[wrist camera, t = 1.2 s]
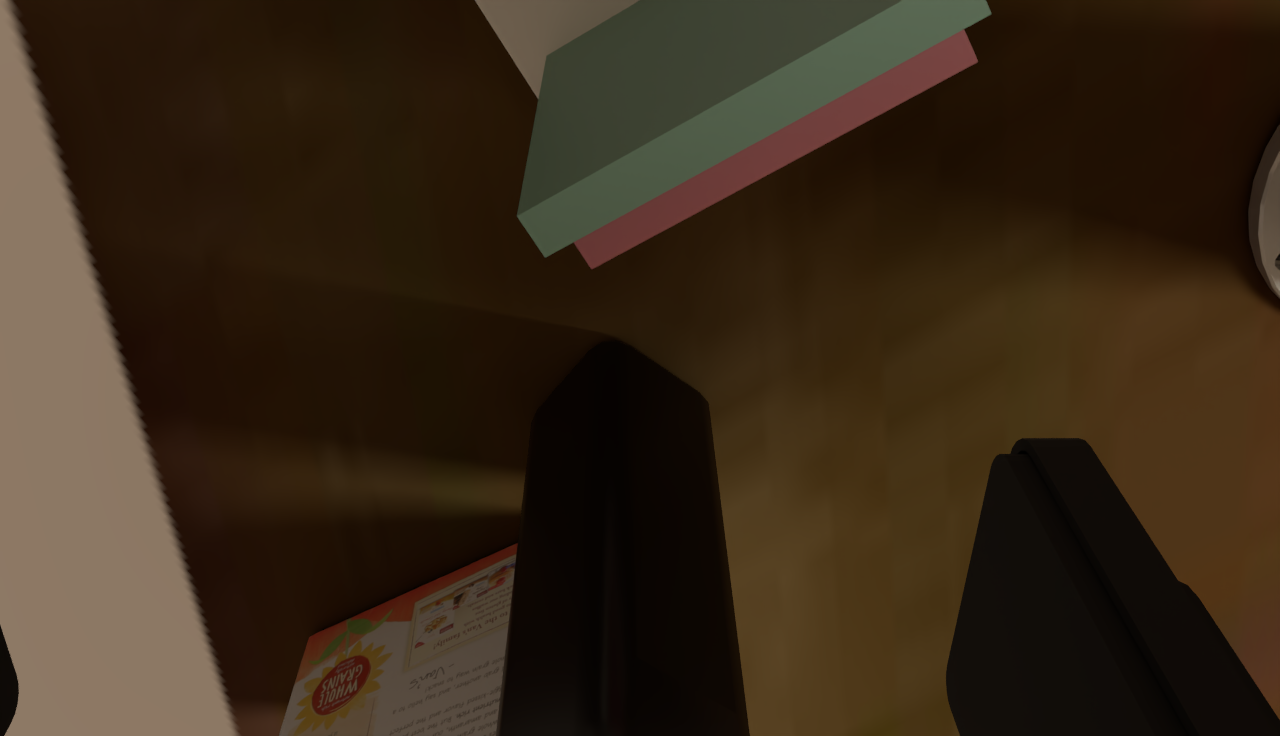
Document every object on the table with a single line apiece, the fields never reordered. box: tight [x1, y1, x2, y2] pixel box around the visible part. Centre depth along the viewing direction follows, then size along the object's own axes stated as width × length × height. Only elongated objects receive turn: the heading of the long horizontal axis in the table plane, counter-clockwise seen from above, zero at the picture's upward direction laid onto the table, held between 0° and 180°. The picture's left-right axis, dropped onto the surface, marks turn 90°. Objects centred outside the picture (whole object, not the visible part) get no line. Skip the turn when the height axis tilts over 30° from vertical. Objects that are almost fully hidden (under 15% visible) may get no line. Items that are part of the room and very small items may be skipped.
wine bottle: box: [496, 341, 750, 736], centre depth 35 cm, size 6×6×30 cm
